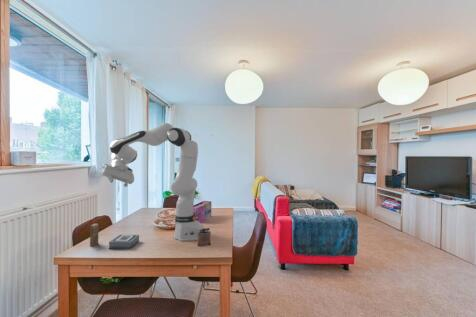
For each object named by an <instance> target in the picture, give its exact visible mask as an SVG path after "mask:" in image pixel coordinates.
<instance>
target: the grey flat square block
mask: <svg viewBox="0 0 476 317" xmlns="http://www.w3.org/2000/svg"><path fill="white" fill-rule="evenodd" d="M139 242H140V234H118V235H117V236H115V237H114V238H112V239H111V240H109V242H108V249H109V250H131V249H132V248H133V247H134V246H135V245H137V243H139Z"/></svg>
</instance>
